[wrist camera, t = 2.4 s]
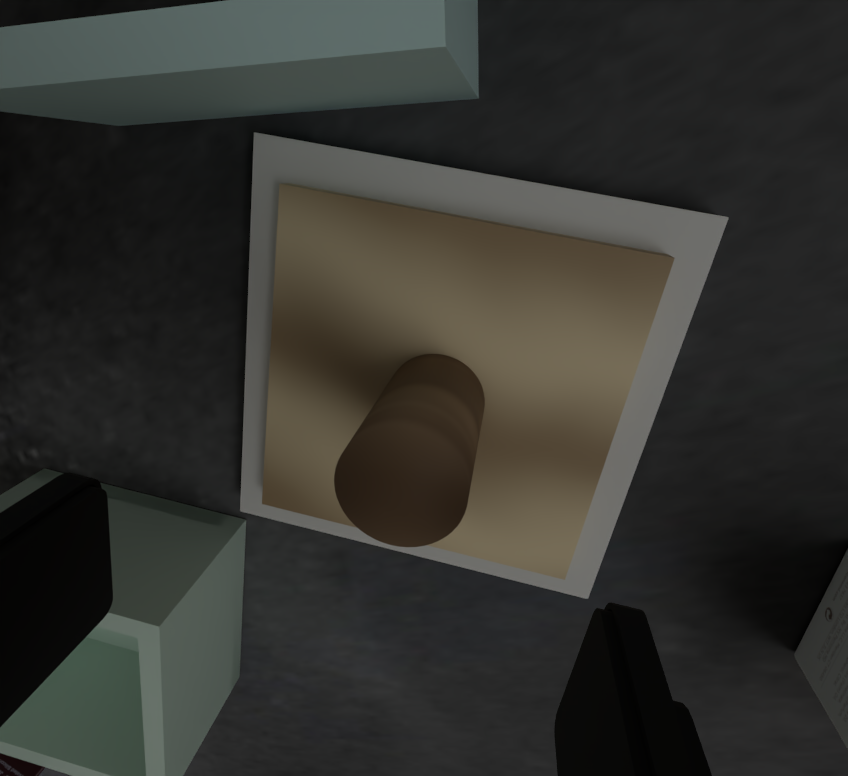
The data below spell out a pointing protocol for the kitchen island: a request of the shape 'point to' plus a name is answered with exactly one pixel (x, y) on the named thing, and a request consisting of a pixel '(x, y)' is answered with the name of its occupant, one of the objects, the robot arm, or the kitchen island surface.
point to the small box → (829, 651)
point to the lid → (448, 374)
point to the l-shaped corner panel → (241, 60)
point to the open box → (142, 646)
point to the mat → (500, 202)
